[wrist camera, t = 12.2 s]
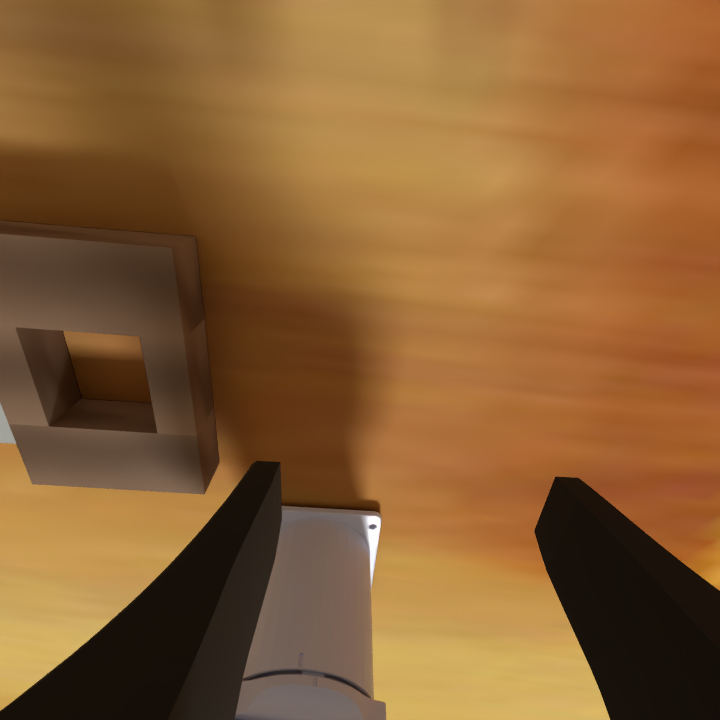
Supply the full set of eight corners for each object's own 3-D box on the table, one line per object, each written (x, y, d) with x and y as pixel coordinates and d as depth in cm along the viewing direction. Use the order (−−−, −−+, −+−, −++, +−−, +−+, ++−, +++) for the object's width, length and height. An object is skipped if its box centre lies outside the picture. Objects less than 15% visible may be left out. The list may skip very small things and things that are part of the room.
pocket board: (219, 462, 23) (204, 494, 21) (64, 452, 23) (32, 484, 21) (195, 236, 17) (171, 247, 15) (-13, 219, 17) (-69, 228, 15)
